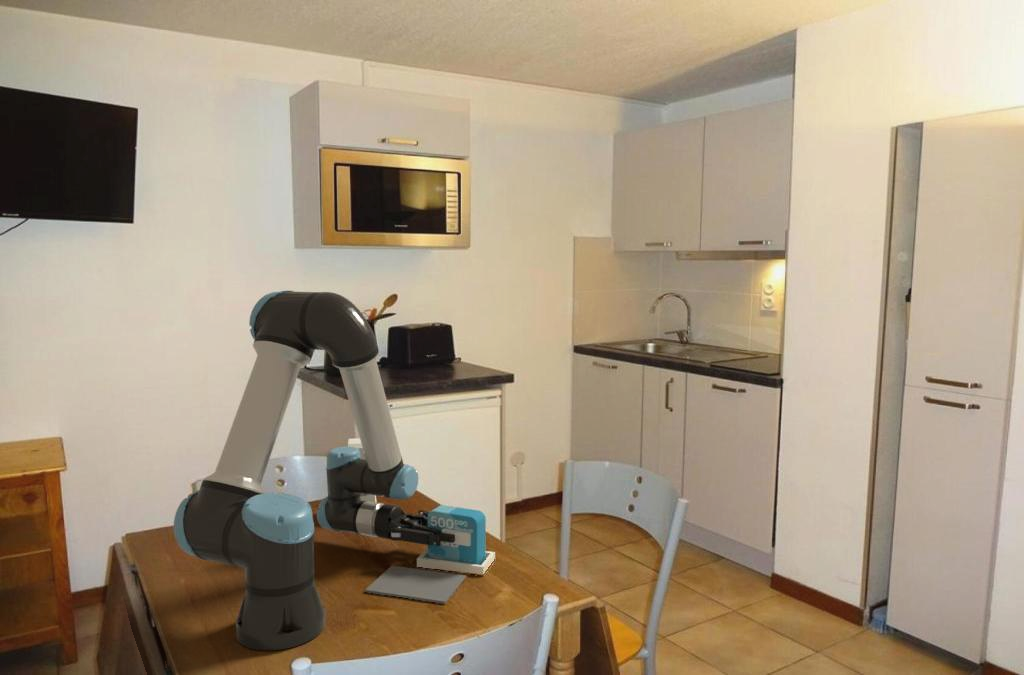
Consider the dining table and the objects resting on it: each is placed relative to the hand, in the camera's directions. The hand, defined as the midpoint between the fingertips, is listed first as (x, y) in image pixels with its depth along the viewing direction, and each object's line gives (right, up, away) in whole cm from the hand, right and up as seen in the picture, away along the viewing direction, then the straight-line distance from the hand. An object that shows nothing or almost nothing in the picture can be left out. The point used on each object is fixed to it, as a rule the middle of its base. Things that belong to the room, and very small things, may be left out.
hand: (475, 535), depth 152 cm
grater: (-32, -4, +31) cm, 45 cm away
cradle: (-4, -7, +2) cm, 8 cm away
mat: (-11, -8, -8) cm, 16 cm away
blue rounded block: (-4, -7, +2) cm, 9 cm away
